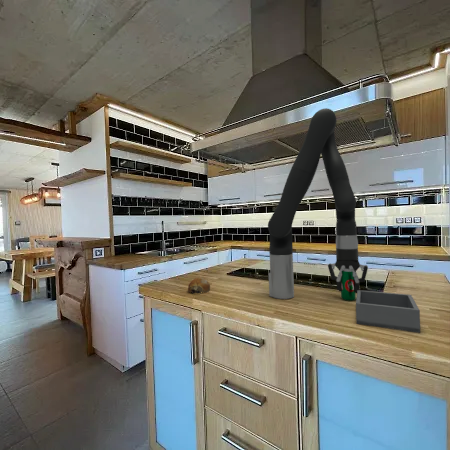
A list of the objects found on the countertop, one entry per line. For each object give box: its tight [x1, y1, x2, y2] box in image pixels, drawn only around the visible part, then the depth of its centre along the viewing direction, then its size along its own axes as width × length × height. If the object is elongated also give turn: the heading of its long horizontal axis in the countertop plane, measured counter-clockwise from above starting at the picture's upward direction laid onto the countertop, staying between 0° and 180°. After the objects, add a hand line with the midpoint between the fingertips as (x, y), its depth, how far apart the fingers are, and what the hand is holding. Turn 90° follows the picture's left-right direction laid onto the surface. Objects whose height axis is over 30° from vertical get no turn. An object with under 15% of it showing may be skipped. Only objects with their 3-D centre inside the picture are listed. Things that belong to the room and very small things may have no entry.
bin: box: [355, 290, 421, 334], centre depth 78 cm, size 15×15×6 cm
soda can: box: [340, 268, 357, 302], centre depth 97 cm, size 5×5×12 cm
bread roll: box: [187, 276, 211, 294], centre depth 117 cm, size 10×10×8 cm
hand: (348, 291), depth 97 cm, fingers closed on soda can, 5 cm apart
